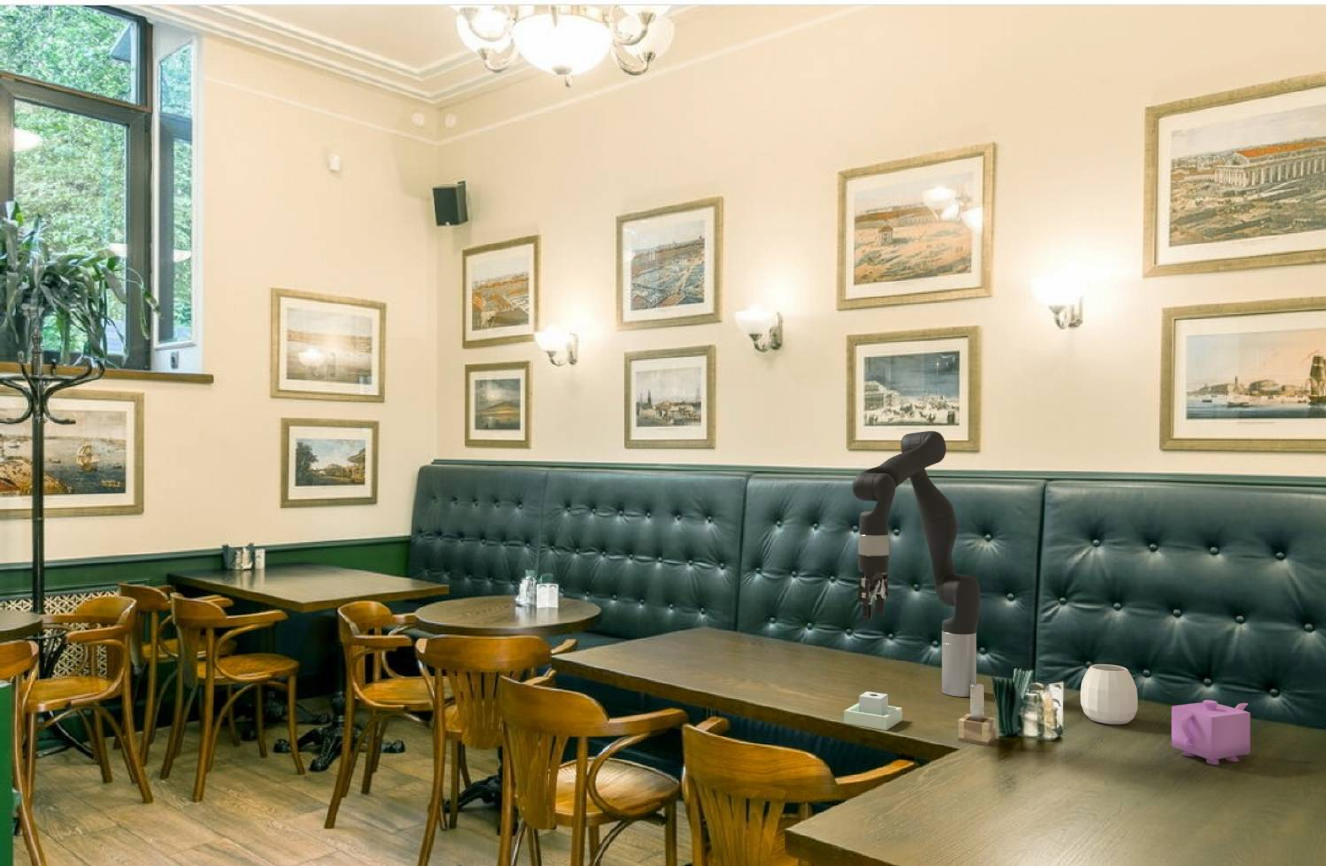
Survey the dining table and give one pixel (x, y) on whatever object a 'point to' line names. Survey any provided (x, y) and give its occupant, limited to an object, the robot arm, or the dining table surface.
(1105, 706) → the white vase
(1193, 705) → the teapot
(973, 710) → the cylinder
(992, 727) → the oak block
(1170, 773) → the dining table surface
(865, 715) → the tray
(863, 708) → the white cube
